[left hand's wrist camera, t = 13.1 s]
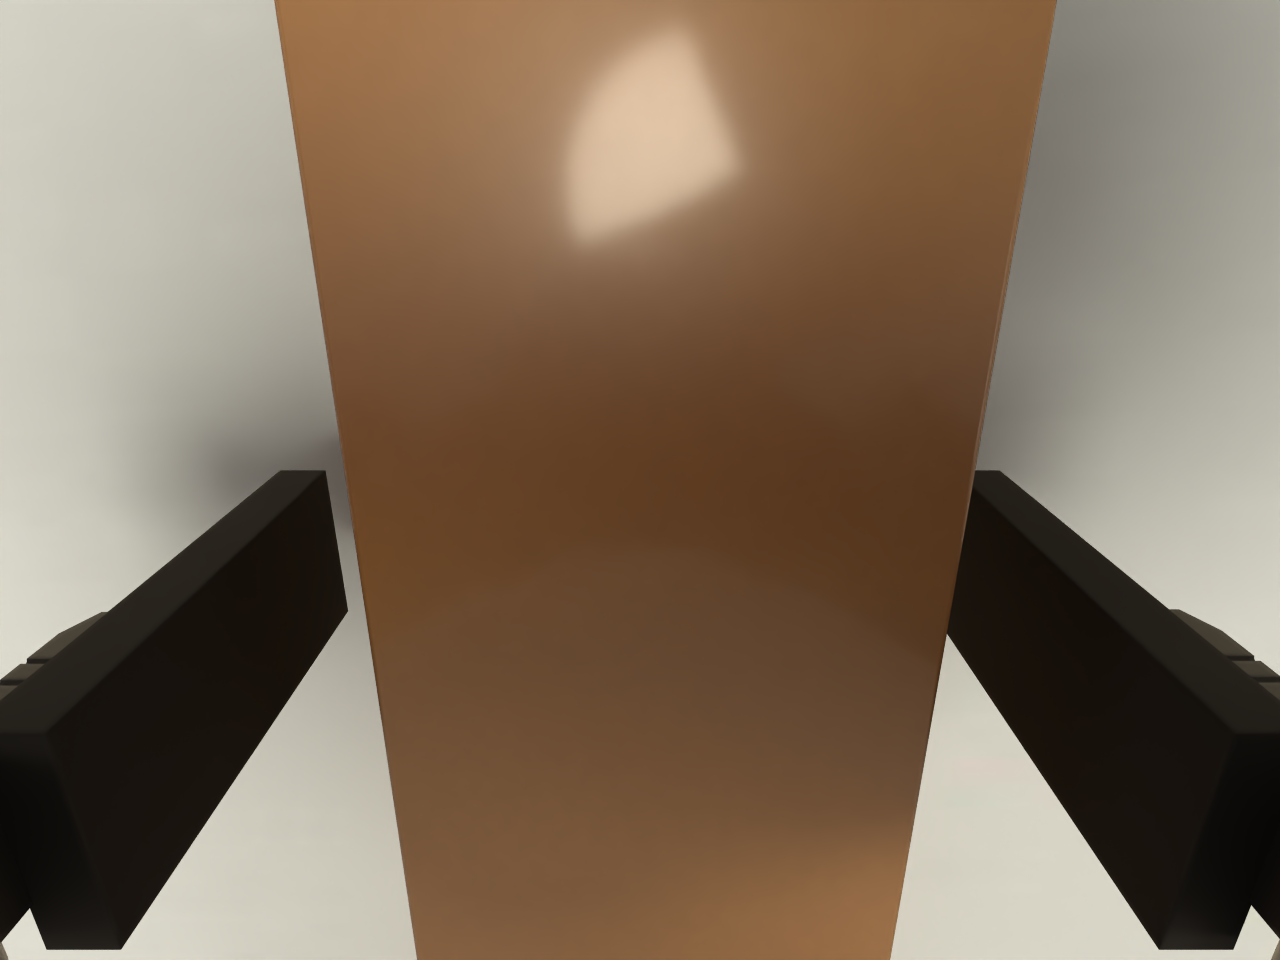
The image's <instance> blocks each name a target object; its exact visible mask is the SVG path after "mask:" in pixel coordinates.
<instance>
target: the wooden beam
mask: <svg viewBox="0 0 1280 960" xmlns="http://www.w3.org/2000/svg"><path fill="white" fill-rule="evenodd" d="M274 1H275V8H276V15H277V21H278V28H279V35H280V42H281V48H282V55H283V62H284V68H285V75H286V82H287V88H288V95H289V102H290V109H291V115H292V122H293V129H294V135H295V142H296V149H297V156H298V162H299V169H300V176H301V182H302V189H303V196H304V203H305V209H306V216H307V223H308V229H309V236H310V243H311V250H312V256H313V263H314V270H315V276H316V283H317V290H318V297H319V303H320V310H321V317H322V323H323V330H324V337H325V344H326V350H327V357H328V364H329V370H330V377H331V384H332V391H333V397H334V404H335V411H336V417H337V424H338V431H339V438H340V444H341V451H342V458H343V464H344V471H345V478H346V485H347V491H348V498H349V505H350V511H351V518H352V525H353V532H354V538H355V545H356V552H357V558H358V565H359V572H360V579H361V585H362V592H363V599H364V605H365V612H366V619H367V626H368V632H369V639H370V646H371V652H372V659H373V666H374V673H375V679H376V686H377V693H378V699H379V706H380V713H381V720H382V726H383V733H384V740H385V746H386V753H387V760H388V767H389V773H390V780H391V787H392V793H393V800H394V807H395V814H396V820H397V827H398V834H399V840H400V847H401V854H402V861H403V867H404V874H405V881H406V887H407V894H408V901H409V908H410V914H411V921H412V928H413V934H414V941H415V948H416V955H417V960H890V957H891V951H892V945H893V940H894V934H895V928H896V922H897V917H898V911H899V905H900V899H901V894H902V888H903V882H904V876H905V871H906V865H907V859H908V853H909V848H910V842H911V836H912V830H913V825H914V819H915V813H916V807H917V802H918V796H919V790H920V784H921V779H922V773H923V767H924V761H925V756H926V750H927V744H928V738H929V733H930V727H931V721H932V715H933V710H934V704H935V698H936V692H937V687H938V681H939V675H940V669H941V664H942V658H943V652H944V646H945V641H946V635H947V629H948V623H949V618H950V612H951V606H952V600H953V595H954V589H955V583H956V577H957V572H958V566H959V560H960V554H961V549H962V543H963V537H964V531H965V526H966V520H967V514H968V508H969V503H970V497H971V491H972V485H973V480H974V474H975V468H976V462H977V457H978V451H979V445H980V439H981V434H982V428H983V422H984V416H985V411H986V405H987V399H988V393H989V388H990V382H991V376H992V370H993V365H994V359H995V353H996V347H997V342H998V336H999V330H1000V324H1001V319H1002V313H1003V307H1004V301H1005V296H1006V290H1007V284H1008V278H1009V273H1010V267H1011V261H1012V255H1013V250H1014V244H1015V238H1016V232H1017V227H1018V221H1019V215H1020V209H1021V204H1022V198H1023V192H1024V186H1025V181H1026V175H1027V169H1028V163H1029V158H1030V152H1031V146H1032V140H1033V135H1034V129H1035V123H1036V117H1037V112H1038V106H1039V100H1040V94H1041V89H1042V83H1043V77H1044V71H1045V66H1046V60H1047V54H1048V48H1049V43H1050V37H1051V31H1052V25H1053V20H1054V14H1055V8H1056V2H1057V0H274Z"/></svg>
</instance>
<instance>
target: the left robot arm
mask: <svg viewBox="0 0 1280 960" xmlns="http://www.w3.org/2000/svg"><path fill="white" fill-rule="evenodd" d="M347 612H348V608H347V601H346V595H345V589H344V583H343V576H342V570H341V564H340V558H339V552H338V545H337V539H336V533H335V527H334V521H333V514H332V508H331V502H330V496H329V490H328V483H327V477H326V471H279V472H278V473H277V474H276V475H274V476H273V477H272V478H271V479H269V480H268V481H267V482H266V483H265V484H263V485H262V486H261V487H260V488H258V489H257V490H256V491H255V492H254V493H252V494H251V495H250V496H249V497H248V498H246V499H245V500H244V501H243V502H241V503H240V504H239V505H238V506H237V507H235V508H234V509H233V510H232V511H230V512H229V513H228V514H227V515H226V516H224V517H223V518H222V519H221V520H219V521H218V522H217V523H216V524H215V525H213V526H212V527H211V528H210V529H209V530H207V531H206V532H205V533H204V534H202V535H201V536H200V537H199V538H198V539H196V540H195V541H194V542H193V543H191V544H190V545H189V546H188V547H187V548H185V549H184V550H183V551H182V552H180V553H179V554H178V555H177V556H176V557H174V558H173V559H172V560H171V561H169V562H168V563H167V564H166V565H165V566H163V567H162V568H161V569H160V570H159V571H157V572H156V573H155V574H154V575H152V576H151V577H150V578H149V579H148V580H146V581H145V582H144V583H143V584H141V585H140V586H139V587H138V588H137V589H135V590H134V591H133V592H132V593H130V594H129V595H128V596H127V597H126V598H124V599H123V600H122V601H121V602H119V603H118V604H117V605H116V606H115V607H113V608H112V609H111V610H110V611H109V612H101V613H99V614H97V615H95V616H93V617H91V618H89V619H87V620H85V621H83V622H81V623H79V624H77V625H75V626H73V627H71V628H69V629H67V630H65V631H63V632H61V633H59V634H58V635H57V636H55V637H54V638H53V639H51V640H50V641H49V642H48V643H46V644H45V645H44V646H43V647H41V648H40V649H39V650H38V651H36V652H35V653H34V654H32V655H31V656H30V657H29V658H27V663H26V664H20V665H18V666H17V667H16V668H15V669H13V670H12V671H11V672H10V673H8V674H7V675H6V676H5V677H3V678H2V679H1V680H0V960H8V956H7V954H6V952H5V949H4V947H3V945H2V943H1V942H2V941H3V940H4V938H5V937H6V936H7V935H8V934H9V932H10V931H11V930H12V929H13V928H14V926H15V925H16V924H17V923H18V922H19V920H20V919H21V918H22V917H23V916H24V914H25V913H26V912H27V911H28V910H29V908H30V909H31V912H32V914H33V917H34V919H35V922H36V924H37V927H38V929H39V932H40V934H41V937H42V939H43V942H44V944H45V947H46V949H47V950H121V949H122V947H123V946H124V944H125V943H126V941H127V940H128V938H129V937H130V935H131V934H132V932H133V931H134V929H135V928H136V926H137V925H138V923H139V922H140V920H141V919H142V918H143V916H144V915H145V913H146V912H147V910H148V909H149V907H150V906H151V904H152V903H153V901H154V900H155V898H156V897H157V895H158V894H159V892H160V891H161V889H162V888H163V886H164V885H165V883H166V882H167V880H168V879H169V877H170V876H171V874H172V873H173V871H174V870H175V868H176V867H177V865H178V864H179V862H180V861H181V859H182V858H183V856H184V855H185V853H186V852H187V850H188V849H189V847H190V846H191V844H192V843H193V841H194V840H195V838H196V837H197V835H198V834H199V833H200V831H201V830H202V828H203V827H204V825H205V824H206V822H207V821H208V819H209V818H210V816H211V815H212V813H213V812H214V810H215V809H216V807H217V806H218V804H219V803H220V801H221V800H222V798H223V797H224V795H225V794H226V792H227V791H228V789H229V788H230V786H231V785H232V783H233V782H234V780H235V779H236V777H237V776H238V774H239V773H240V771H241V770H242V768H243V767H244V765H245V764H246V762H247V761H248V759H249V758H250V756H251V755H252V753H253V752H254V750H255V749H256V748H257V746H258V745H259V743H260V742H261V740H262V739H263V737H264V736H265V734H266V733H267V731H268V730H269V728H270V727H271V725H272V724H273V722H274V721H275V719H276V718H277V716H278V715H279V713H280V712H281V710H282V709H283V707H284V706H285V704H286V703H287V701H288V700H289V698H290V697H291V695H292V694H293V692H294V691H295V689H296V688H297V686H298V685H299V683H300V682H301V680H302V679H303V677H304V676H305V674H306V673H307V671H308V670H309V668H310V667H311V665H312V664H313V663H314V661H315V660H316V658H317V657H318V655H319V654H320V652H321V651H322V649H323V648H324V646H325V645H326V643H327V642H328V640H329V639H330V637H331V636H332V634H333V633H334V631H335V630H336V628H337V627H338V625H339V624H340V622H341V621H342V619H343V618H344V616H345V615H346V613H347ZM947 634H948V636H949V637H950V639H951V640H952V642H953V643H954V645H955V646H956V648H957V649H958V651H959V652H960V654H961V655H962V657H963V658H964V660H965V661H966V663H967V664H968V666H969V667H970V668H971V670H972V671H973V673H974V674H975V676H976V677H977V679H978V680H979V682H980V683H981V685H982V686H983V688H984V689H985V691H986V692H987V694H988V695H989V697H990V698H991V700H992V701H993V703H994V704H995V706H996V707H997V709H998V710H999V712H1000V713H1001V715H1002V716H1003V718H1004V719H1005V721H1006V722H1007V724H1008V725H1009V727H1010V728H1011V730H1012V731H1013V733H1014V734H1015V736H1016V737H1017V739H1018V740H1019V742H1020V743H1021V745H1022V746H1023V748H1024V749H1025V751H1026V752H1027V753H1028V755H1029V756H1030V758H1031V759H1032V761H1033V762H1034V764H1035V765H1036V767H1037V768H1038V770H1039V771H1040V773H1041V774H1042V776H1043V777H1044V779H1045V780H1046V782H1047V783H1048V785H1049V786H1050V788H1051V789H1052V791H1053V792H1054V794H1055V795H1056V797H1057V798H1058V800H1059V801H1060V803H1061V804H1062V806H1063V807H1064V809H1065V810H1066V812H1067V813H1068V815H1069V816H1070V818H1071V819H1072V821H1073V822H1074V824H1075V825H1076V827H1077V828H1078V830H1079V831H1080V833H1081V834H1082V836H1083V837H1084V838H1085V840H1086V841H1087V843H1088V844H1089V846H1090V847H1091V849H1092V850H1093V852H1094V853H1095V855H1096V856H1097V858H1098V859H1099V861H1100V862H1101V864H1102V865H1103V867H1104V868H1105V870H1106V871H1107V873H1108V874H1109V876H1110V877H1111V879H1112V880H1113V882H1114V883H1115V885H1116V886H1117V888H1118V889H1119V891H1120V892H1121V894H1122V895H1123V897H1124V898H1125V900H1126V901H1127V903H1128V904H1129V906H1130V907H1131V909H1132V910H1133V912H1134V913H1135V915H1136V916H1137V918H1138V919H1139V921H1140V922H1141V923H1142V925H1143V926H1144V928H1145V929H1146V931H1147V932H1148V934H1149V935H1150V937H1151V938H1152V940H1153V941H1154V943H1155V944H1156V946H1157V947H1158V949H1159V950H1233V949H1234V947H1235V944H1236V942H1237V939H1238V937H1239V934H1240V932H1241V929H1242V927H1243V924H1244V922H1245V919H1246V917H1247V914H1248V912H1249V909H1250V907H1251V905H1252V906H1253V908H1254V909H1255V910H1256V911H1257V912H1258V913H1259V915H1260V916H1261V917H1262V918H1263V919H1264V921H1265V922H1266V923H1267V924H1268V925H1269V927H1270V928H1271V929H1272V930H1273V931H1274V933H1275V934H1276V935H1277V936H1278V937H1279V939H1280V676H1279V675H1278V674H1277V673H1275V672H1274V671H1273V670H1271V669H1270V668H1269V667H1268V666H1266V665H1265V664H1264V663H1262V662H1261V661H1255V660H1254V655H1252V654H1251V653H1250V652H1248V651H1247V650H1246V649H1245V648H1243V647H1242V646H1241V645H1239V644H1238V643H1237V642H1236V641H1234V640H1233V639H1232V638H1230V637H1229V636H1228V635H1227V634H1225V633H1224V632H1223V631H1221V630H1219V629H1217V628H1215V627H1213V626H1211V625H1209V624H1207V623H1205V622H1203V621H1201V620H1199V619H1197V618H1195V617H1193V616H1191V615H1189V614H1187V613H1185V612H1183V611H1181V610H1179V609H1168V608H1167V607H1165V606H1164V605H1163V604H1162V603H1160V602H1159V601H1158V600H1157V599H1156V598H1154V597H1153V596H1152V595H1151V594H1150V593H1148V592H1147V591H1146V590H1145V589H1143V588H1142V587H1141V586H1140V585H1139V584H1137V583H1136V582H1135V581H1134V580H1132V579H1131V578H1130V577H1129V576H1128V575H1126V574H1125V573H1124V572H1123V571H1121V570H1120V569H1119V568H1118V567H1117V566H1115V565H1114V564H1113V563H1112V562H1111V561H1109V560H1108V559H1107V558H1106V557H1104V556H1103V555H1102V554H1101V553H1100V552H1098V551H1097V550H1096V549H1095V548H1093V547H1092V546H1091V545H1090V544H1089V543H1087V542H1086V541H1085V540H1084V539H1082V538H1081V537H1080V536H1079V535H1078V534H1076V533H1075V532H1074V531H1073V530H1071V529H1070V528H1069V527H1068V526H1067V525H1065V524H1064V523H1063V522H1062V521H1061V520H1059V519H1058V518H1057V517H1056V516H1054V515H1053V514H1052V513H1051V512H1050V511H1048V510H1047V509H1046V508H1045V507H1043V506H1042V505H1041V504H1040V503H1039V502H1037V501H1036V500H1035V499H1034V498H1032V497H1031V496H1030V495H1029V494H1028V493H1026V492H1025V491H1024V490H1023V489H1021V488H1020V487H1019V486H1018V485H1017V484H1015V483H1014V482H1013V481H1012V480H1011V479H1009V478H1008V477H1007V476H1006V475H1004V474H1003V473H1002V472H1001V471H975V474H974V480H973V485H972V491H971V497H970V503H969V508H968V514H967V520H966V526H965V531H964V537H963V543H962V549H961V554H960V560H959V566H958V572H957V577H956V583H955V589H954V595H953V600H952V606H951V612H950V618H949V623H948V629H947ZM1271 960H1280V940H1279V943H1278V945H1277V947H1276V949H1275V952H1274V954H1273V956H1272V959H1271Z"/></svg>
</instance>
